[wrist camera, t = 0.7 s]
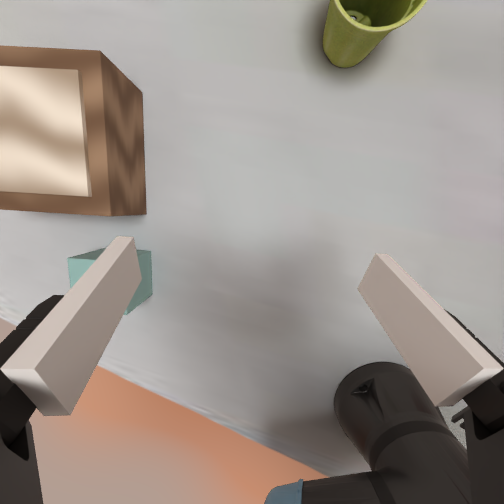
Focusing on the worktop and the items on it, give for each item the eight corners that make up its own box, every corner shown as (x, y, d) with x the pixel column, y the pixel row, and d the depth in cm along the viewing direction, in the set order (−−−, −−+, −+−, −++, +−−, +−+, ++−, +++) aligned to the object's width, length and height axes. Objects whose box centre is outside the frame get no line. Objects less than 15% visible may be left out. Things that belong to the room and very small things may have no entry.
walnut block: (146, 214, 33) (107, 216, 24) (39, 207, 33) (-35, 207, 25) (142, 92, 29) (96, 46, 21) (24, 86, 30) (-68, 38, 21)
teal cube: (152, 293, 35) (126, 314, 28) (109, 290, 35) (73, 311, 28) (151, 250, 34) (123, 261, 27) (106, 247, 34) (67, 258, 27)
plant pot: (304, 81, 29) (323, 27, 20) (313, -7, 27) (338, -107, 18) (377, 85, 29) (427, 33, 20) (390, -3, 27) (452, -101, 18)
